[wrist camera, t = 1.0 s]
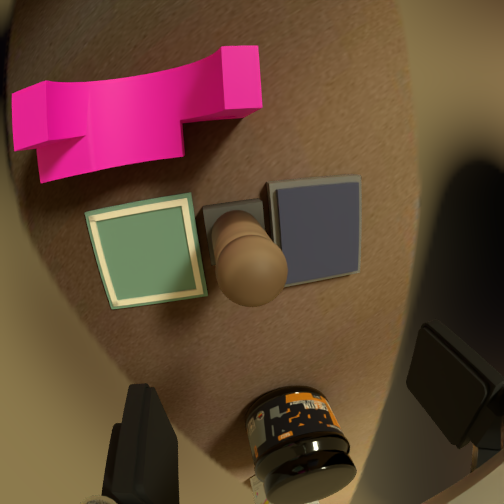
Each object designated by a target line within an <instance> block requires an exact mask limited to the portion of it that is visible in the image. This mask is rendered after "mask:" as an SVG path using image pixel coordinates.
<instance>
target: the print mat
mask: <svg viewBox="0 0 504 504" xmlns="http://www.w3.org/2000/svg"><path fill="white" fill-rule="evenodd" d="M85 217H86V221H87V226H88V230H89V234H90V238H91V242H92V246H93V250H94V253H95V257H96V261H97V264H98V268H99V271H100V274H101V278H102V281H103V284H104V288H105V291H106V294H107V297H108V300H109V303H110V306H111V309H119V308H127V307H134V306H142V305H149V304H156V303H163V302H170V301H177V300H184V299H191V298H197V297H204V296H208V292H207V287H206V281H205V276H204V270H203V264H202V259H201V253H200V247H199V241H198V235H197V228H196V222H195V216H194V209H193V202H192V196H191V192H189V193H183V194H177V195H171V196H165V197H159V198H153V199H148V200H142V201H137V202H132V203H126V204H121V205H116V206H111V207H106V208H102V209H97V210H92V211H88V212H85Z"/></svg>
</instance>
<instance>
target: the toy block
mask: <svg viewBox="0 0 504 504" xmlns="http://www.w3.org/2000/svg"><path fill="white" fill-rule="evenodd" d="M261 108H262V95H261V80H260V66H259V53H258V46H222V47H220V48H219V50H218V51H216V52H215V53H214V54H212V55H210V56H208V57H206V58H204V59H202V60H199V61H197V62H194V63H191V64H188V65H185V66H181V67H177V68H173V69H169V70H165V71H160V72H155V73H150V74H145V75H139V76H133V77H127V78H120V79H112V80H103V81H92V82H71V83H68V82H52V81H43V82H40V83H38V84H35V85H32V86H30V87H27V88H25V89H22V90H20V91H17V92H15V93H13V94H12V123H13V140H14V151H21V150H29V149H37V159H38V167H39V175H40V182H41V183H45V182H49V181H53V180H57V179H61V178H65V177H70V176H74V175H79V174H84V173H89V172H93V171H97V170H102V169H107V168H112V167H117V166H122V165H127V164H133V163H139V162H145V161H152V160H159V159H167V158H175V157H183V156H184V155H185V149H184V137H183V124H182V123H190V122H199V121H210V120H222V119H236V118H244V117H246V116H248V115H250V114H251V113H253V112H255V111H257V110H259V109H261Z"/></svg>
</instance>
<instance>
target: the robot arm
mask: <svg viewBox="0 0 504 504" xmlns="http://www.w3.org/2000/svg"><path fill="white" fill-rule="evenodd" d="M503 383H504V377H503V376H502V375H500V374H499V373H498V372H497V371H496V370H495V369H494V368H493V367H492V366H491V365H490V364H488V362H486V361H485V360H484V359H483V358H482V357H481V356H480V355H478V354H477V353H476V352H475V351H474V350H473V349H472V348H470V347H469V346H468V345H467V344H466V343H465V342H464V341H462V340H461V339H460V338H459V337H458V336H457V335H455V334H454V333H453V332H452V331H451V330H450V329H448V328H447V327H446V326H445V325H444V324H442V323H441V322H440V321H438V320H432V321H429V322H427V323H424V324H423V325H422V326H421V329H420V330H419V332H418V337H417V341H416V345H415V349H414V354H413V357H412V362H411V365H410V369H409V373H408V376H407V380H406V384H407V387H408V389H409V390H410V391H411V393H412V394H413V395H414V396H415V398H416V399H417V400H418V401H419V403H420V404H421V405H422V407H423V408H424V409H425V410H426V412H427V413H428V414H429V416H430V417H431V418H432V419H433V421H434V422H435V423H436V425H437V426H438V427H439V428H440V430H441V431H442V432H443V434H444V435H445V436H446V438H447V439H448V440H449V442H450V443H451V444H453V445H456V446H457V448H458V449H460V448H462V447H464V446H465V445H467V444H468V443H469V442H470V440H471V442H472V443H473V454H472V464H471V472H470V474H469V475H467V476H466V477H464V478H463V479H461V480H460V481H458V482H457V483H455V484H454V485H452V486H451V487H449V488H447V489H446V490H444V491H443V492H441V493H439V494H437V495H436V496H434V497H432V498H431V499H429V500H427V501H425V502H424V503H422V504H504V384H503ZM80 504H179V480H178V441H177V437H176V434H175V432H174V430H173V428H172V426H171V424H170V421H169V419H168V417H167V415H166V413H165V411H164V408H163V406H162V404H161V402H160V399H159V397H158V395H157V392H156V390H155V388H154V387H149V385H148V384H146V383H145V384H131V385H130V386H129V389H128V394H127V398H126V403H125V408H124V413H123V418H122V423H116V424H115V425H114V426H113V429H112V434H111V439H110V444H109V450H108V455H107V461H106V468H105V474H104V481H103V487H102V495H95V496H90V497H88V498H86V499H84V500H83V501H82V502H81V503H80Z"/></svg>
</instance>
